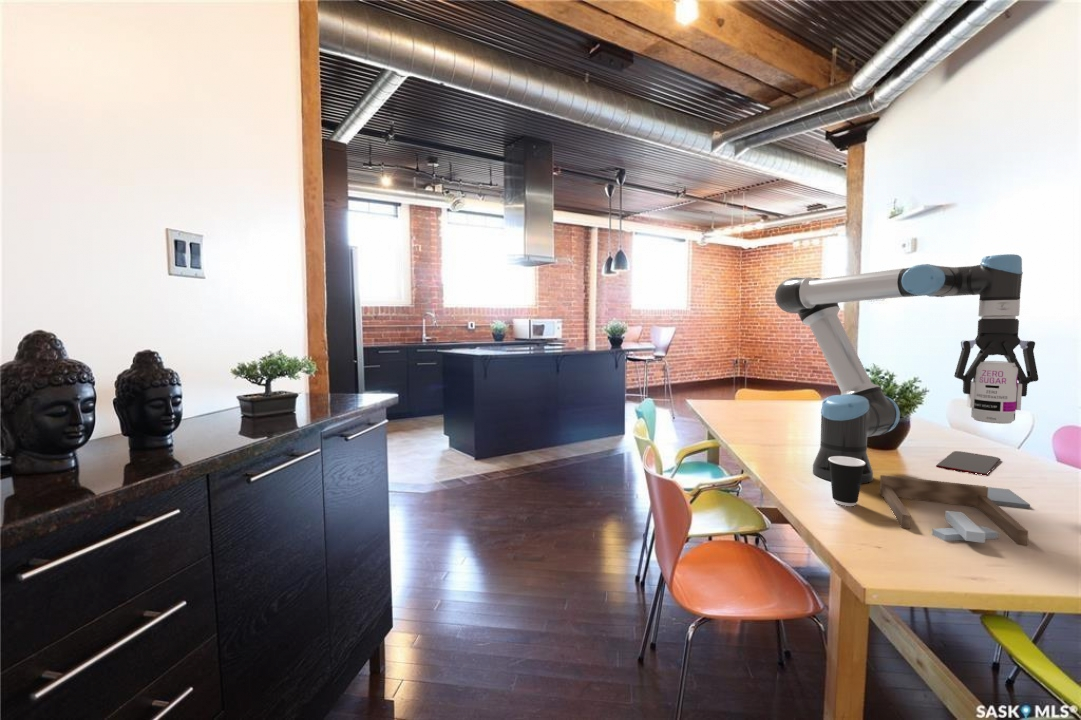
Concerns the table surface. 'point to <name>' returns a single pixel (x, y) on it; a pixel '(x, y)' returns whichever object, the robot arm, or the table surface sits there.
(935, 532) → the offcut lower
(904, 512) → the rack
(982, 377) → the supplement can
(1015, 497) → the pad
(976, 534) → the offcut upper
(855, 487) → the dixie cup
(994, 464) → the smartphone
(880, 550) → the table surface
